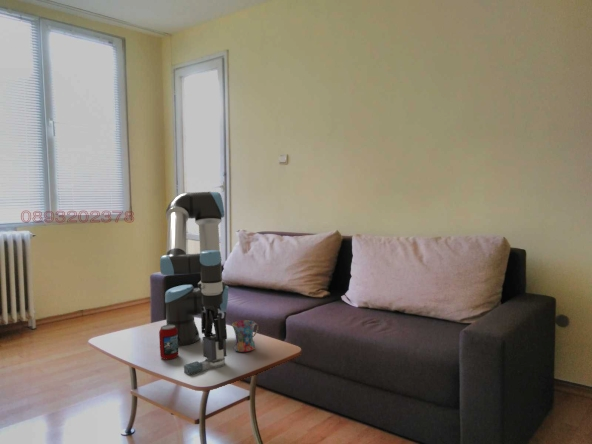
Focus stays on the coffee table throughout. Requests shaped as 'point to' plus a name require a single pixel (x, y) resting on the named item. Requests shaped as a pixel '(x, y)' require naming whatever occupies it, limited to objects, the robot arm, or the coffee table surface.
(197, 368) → the faucet
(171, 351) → the beverage can
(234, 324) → the mug
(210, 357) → the cube with silver knob
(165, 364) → the coffee table surface
